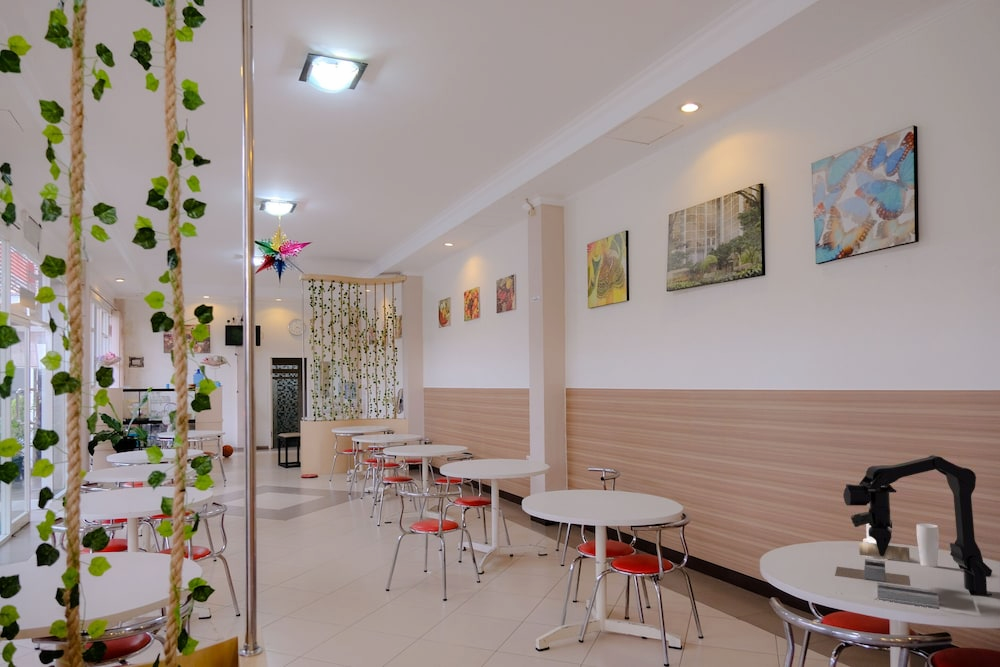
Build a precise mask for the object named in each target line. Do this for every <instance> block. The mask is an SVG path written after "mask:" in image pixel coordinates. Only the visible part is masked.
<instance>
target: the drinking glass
mask: <svg viewBox="0 0 1000 667" xmlns="http://www.w3.org/2000/svg"><path fill="white" fill-rule="evenodd" d="M915 528H916V539H917V540H916V542H917V549H918V555H919V564H920V565H921V566H924V567H929V568H938V564H939V563H938V562H939V561H938V560H939V543H940V537H939V536H940V535H939V526H938V525H936V524H933V523H921V522H920V523H916V526H915Z"/></svg>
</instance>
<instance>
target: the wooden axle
mask: <svg viewBox="0 0 1000 667" xmlns="http://www.w3.org/2000/svg"><path fill="white" fill-rule="evenodd" d="M858 546H859V547H858V548H859V549H858V550H859V551H858V552H859V555H860V556H863V557H864V556H873V557H881V558H890V560H899V561H908V562H910V559H911V558H910V547H907V546H898V545H897V546H896V545H890V546H888V547H887V549H886V552H885V554H884V556H880V554H879V551H878V547H877V544H870V543H863V542H861V541H859V545H858Z"/></svg>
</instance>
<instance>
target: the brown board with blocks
mask: <svg viewBox="0 0 1000 667" xmlns="http://www.w3.org/2000/svg"><path fill="white" fill-rule="evenodd" d="M863 568H864V569H861V568H858V569H857V568H850V567H845V566H844V567H843V566H836V568H835V573H834V576H835V577H840V578H841V577H842V578H847V579H848V578H849V579H856V580H862V581H863V580H864V581H872V582H877V583H884V584H892V585H899V586H907V587H911V582H910V581H911V580H910V576H909V575H908V574H907V575H905V574H898V573H890V572H886V560H878V559H870V558H865V559H864V567H863Z"/></svg>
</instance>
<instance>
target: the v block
mask: <svg viewBox="0 0 1000 667" xmlns="http://www.w3.org/2000/svg"><path fill="white" fill-rule="evenodd" d="M876 590H877V600H878V599H879V600H883V601H882V602H886V601H890V602H889V603H893V602H894V604H900V605H908V606H913V605H914V606H915V607H920V606H921V608H922V607H923V608H927V607H928V609H934V610H935V609H936V610H940V597H939V595H938V594H939V592H938V590H934V589H927V588H926V589H925V588H918V587H911V586H906V585H899V584H891V583H884V582H877V588H876ZM879 600H878V601H879Z"/></svg>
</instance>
